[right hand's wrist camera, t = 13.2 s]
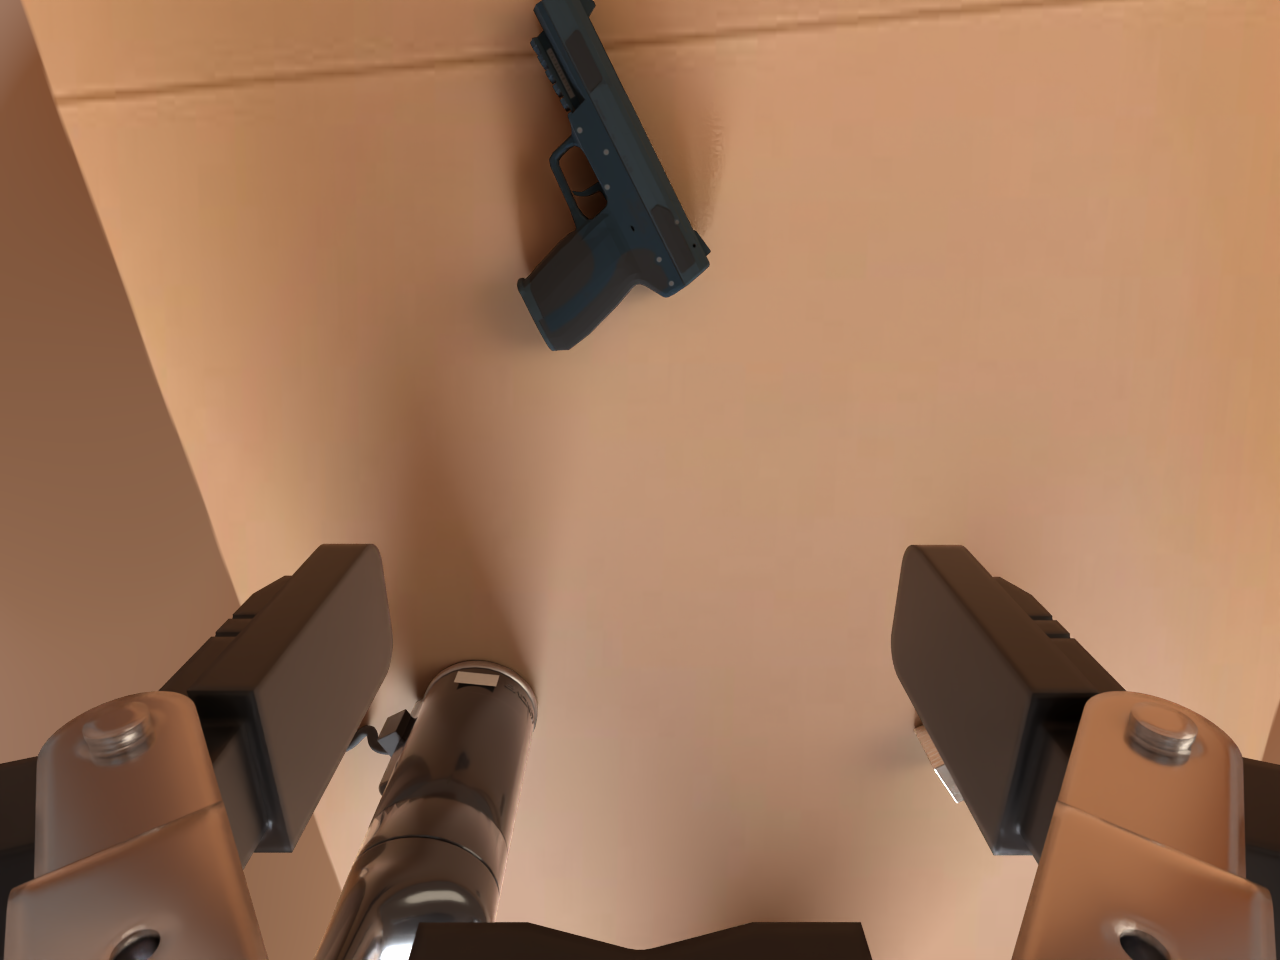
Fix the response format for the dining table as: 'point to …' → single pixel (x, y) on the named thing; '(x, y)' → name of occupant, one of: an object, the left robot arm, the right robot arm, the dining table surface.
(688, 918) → the dining table surface
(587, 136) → the handgun
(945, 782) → the block
